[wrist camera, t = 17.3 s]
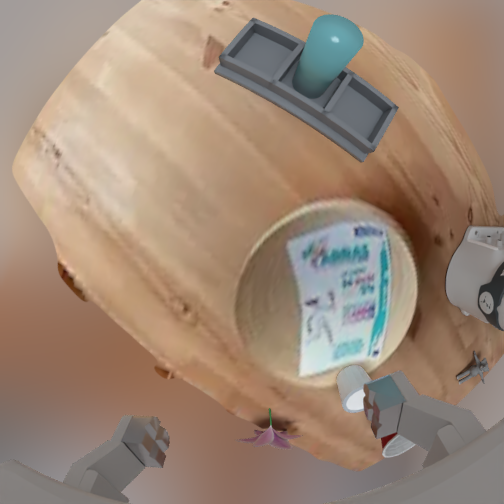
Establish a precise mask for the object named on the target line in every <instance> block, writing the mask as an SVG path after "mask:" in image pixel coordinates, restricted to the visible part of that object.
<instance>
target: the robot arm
mask: <svg viewBox="0 0 504 504" xmlns="http://www.w3.org/2000/svg"><path fill="white" fill-rule="evenodd" d="M446 293H447V297H448V299H449V301H450V302H451V303H452V304H453V305H454V306H457V307H459V308H460V310H461V312H462V313H463V314H464V315H466V316H468V315H472V316H474V317H476V318H478V319H480V320H481V321H483V322H485V323H490V324H492V325H493V326H494V327H495V328H498V329H499V330H501V331H504V227H494V226H469V227H468V228H467V231H466V233H465V236H464V239H463V241H462V243H461V244H460V246H459V247H458V249H457V250H456V252H455V253H454V255H453V257H452V259H451V262H450V264H449V267H448V271H447V276H446ZM363 391H364V393H365V396H364V398H363V406H364V411H365V414H366V417H367V419H368V420H370V421H372V422H371V429H372V431H373V433H374V435H375V438H376V439H379V438H382V437H385V436H387V435H390V434H393V433H396V432H397V433H398V434H399V435H401V436H403V437H404V438H406V439H408V440H409V441H411V442H413V443H415V444H416V445H418V446H420V447H422V448H423V449H426V450H427V451H429V453H428V455H427V457H426V459H425V461H424V463H423V465H422V466H423V468H424V469H422V470H420V471H418V472H416V473H414V474H411V475H409V476H407V477H405V478H402V479H400V480H398V481H395V482H393V483H390V484H388V485H385V486H382V487H380V488H377V489H374V490H371V491H368V492H365V493H362V494H359V495H355V496H352V497H348V498H345V499H341V500H337V501H333V502H329V503H325V504H504V418H503V419H502V420H500V421H499V422H498V423H497V424H495V425H494V426H493V427H491V428H490V429H489V430H487V431H486V430H485V429H484V427H483V426H482V425H481V423H480V422H479V421H478V419H477V418H476V417H475V415H474V414H473V413H472V412H471V411H470V410H468V409H464V408H461V407H458V406H455V405H452V404H449V403H446V402H443V401H440V400H437V399H434V398H431V397H429V396H426V395H420V396H419V394H418V393H417V392H416V390H415V389H414V387H413V386H412V384H411V383H410V382H409V380H408V379H407V377H406V376H405V375H404V373H403V372H402V371H397V372H395V373H392V374H389V375H387V376H384V377H381V378H378V379H376V380H373V381H370V382H367V383H364V386H363ZM169 443H170V442H169V435H168V432H167V431H166V429H165V428H163V427H161V426H160V421H159V419H158V418H157V417H153V416H135V415H134V416H133V415H124V416H123V417H122V418H121V421H120V423H119V425H118V426H117V429H116V430H115V432H114V434H113V437H112V439H111V441H109V440H108V441H106V442H105V443H103V444H102V445H100V446H99V447H97V448H96V449H94V450H93V451H91V452H90V453H88V454H87V455H85V456H84V457H82V458H81V459H79V460H78V461H76V462H75V463H73V464H72V466H71V468H70V470H69V472H68V473H67V475H66V477H65V479H64V481H63V483H62V482H60V481H57V480H55V479H53V478H51V477H48V476H46V475H44V474H42V473H40V472H38V471H36V470H33V469H32V468H30V467H28V466H26V465H24V464H22V463H20V462H19V461H16V460H9V461H6V462H3V463H1V464H0V504H129V503H128V502H129V499H128V498H127V497H126V496H125V495H123V494H122V493H121V491H122V490H123V489H124V488H125V487H126V486H127V485H128V484H129V483H130V482H132V481H133V480H134V479H135V478H136V477H137V476H138V475H139V474H140V473H141V471H143V469H145V467H158V468H163V465H164V461H165V458H166V455H165V453H164V451H166V450H167V449H168V447H169Z"/></svg>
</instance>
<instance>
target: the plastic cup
mask: <svg viewBox="0 0 504 504" xmlns="http://www.w3.org/2000/svg"><path fill="white" fill-rule="evenodd" d="M381 441H382V448H383V452H382V455H383V456H384V457H393V456H397V455H399V454H401V453H403V452H405V451H407V450H408V449H410V448H411V447H413V446H414V445H415V443H413V442H411V441H409V440H408V439H406V438H404V437H403V436H401V435H399V434H398V433H397V432H396V433H393V434H390V435H387V436H385V437H382V438H381Z"/></svg>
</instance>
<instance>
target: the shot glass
mask: <svg viewBox="0 0 504 504" xmlns="http://www.w3.org/2000/svg"><path fill="white" fill-rule="evenodd" d="M370 381H372V380H371V378H370V377H369V376H368V374H367V373H366V372H365V370H364V369H363V368H362V367H361V366H359V365H351V366H348V367H346V368H344V369H343V370H342V371H340V372H339V374H338V376H337V385H338V389H339V394H340V398H341V402H342V406H343V408H344V410H345V411H347V412H351V413H356V412H360V411H363V410H364V406H363V398H364V396H365V393H364V391H363V386H364V383H367V382H370Z"/></svg>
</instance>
